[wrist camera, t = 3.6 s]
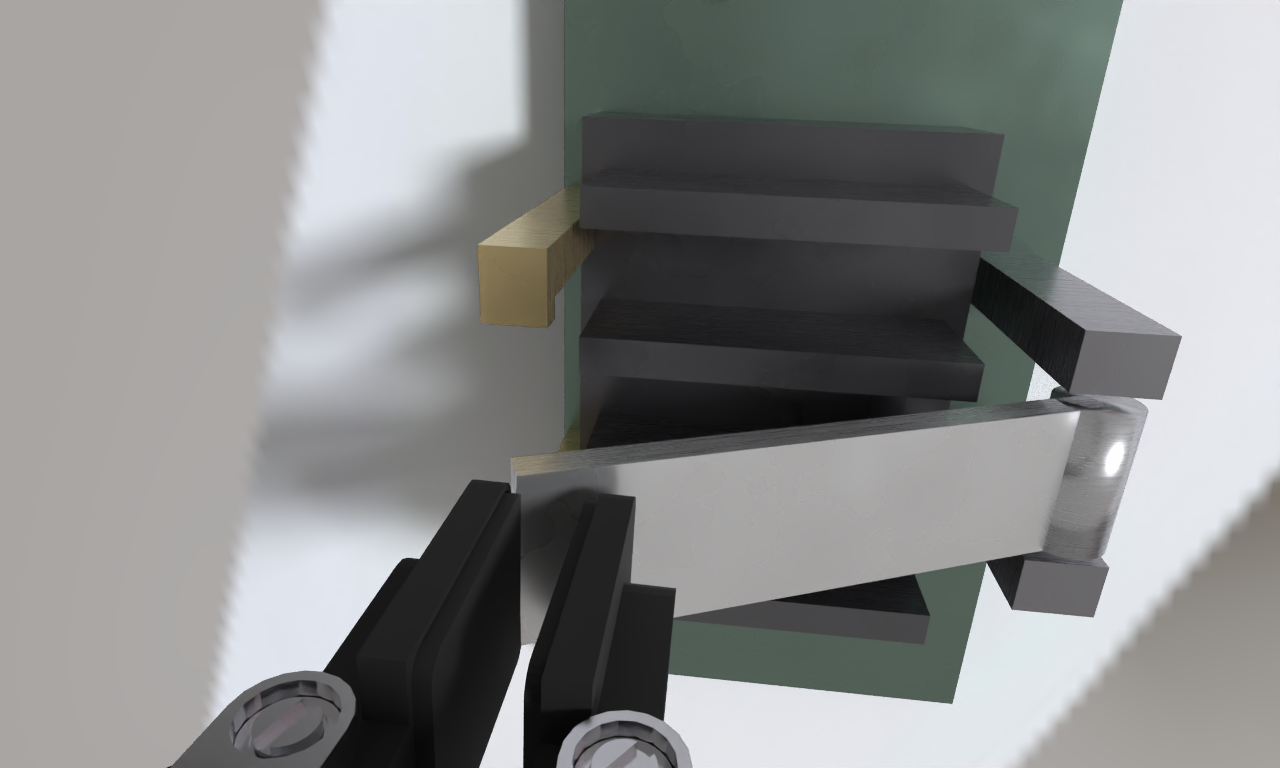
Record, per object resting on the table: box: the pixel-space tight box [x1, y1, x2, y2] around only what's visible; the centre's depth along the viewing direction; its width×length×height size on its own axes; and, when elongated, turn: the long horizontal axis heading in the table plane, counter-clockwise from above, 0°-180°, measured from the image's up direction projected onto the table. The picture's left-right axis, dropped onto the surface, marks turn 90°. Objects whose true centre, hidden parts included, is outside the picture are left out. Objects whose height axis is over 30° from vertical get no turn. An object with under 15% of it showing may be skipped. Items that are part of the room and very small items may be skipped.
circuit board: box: [477, 0, 1182, 704], centre depth 18 cm, size 24×13×9 cm, turn 178°
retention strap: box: [510, 386, 1148, 645], centre depth 13 cm, size 3×12×2 cm, turn 88°
